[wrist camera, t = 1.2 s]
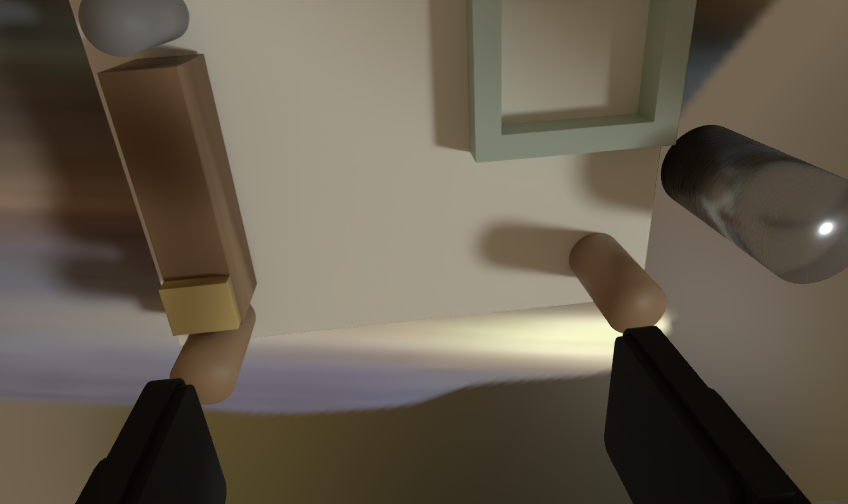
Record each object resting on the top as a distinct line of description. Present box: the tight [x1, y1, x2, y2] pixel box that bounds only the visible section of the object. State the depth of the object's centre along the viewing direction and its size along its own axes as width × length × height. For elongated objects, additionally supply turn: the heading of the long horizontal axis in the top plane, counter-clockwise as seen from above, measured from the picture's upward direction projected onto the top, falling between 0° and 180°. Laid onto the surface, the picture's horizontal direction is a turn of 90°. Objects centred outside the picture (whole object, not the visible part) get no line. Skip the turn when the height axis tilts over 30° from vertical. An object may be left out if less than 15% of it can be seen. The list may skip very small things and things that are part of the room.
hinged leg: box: [97, 54, 257, 336], centre depth 20 cm, size 2×10×4 cm, turn 3°
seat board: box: [69, 0, 697, 405], centre depth 21 cm, size 28×18×7 cm, turn 94°
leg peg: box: [661, 125, 848, 284], centre depth 23 cm, size 4×4×8 cm
